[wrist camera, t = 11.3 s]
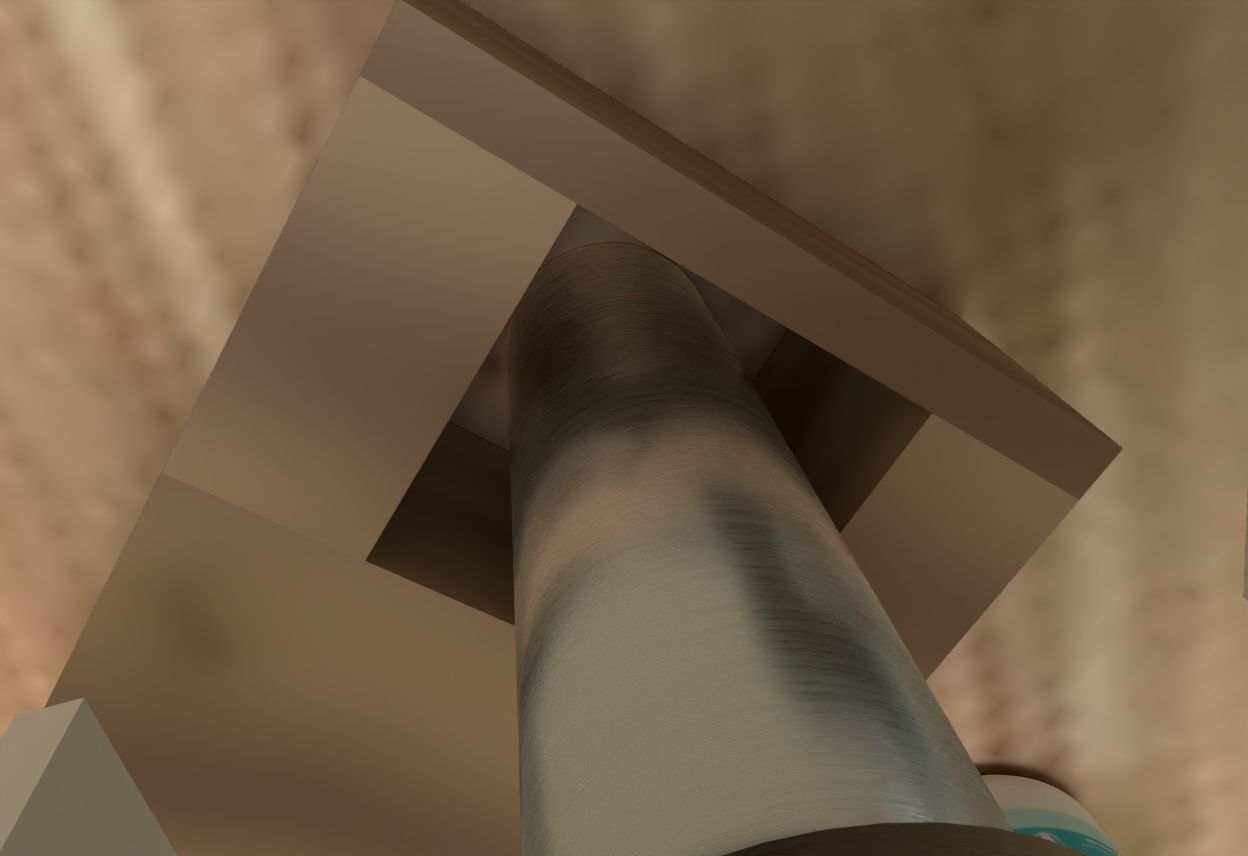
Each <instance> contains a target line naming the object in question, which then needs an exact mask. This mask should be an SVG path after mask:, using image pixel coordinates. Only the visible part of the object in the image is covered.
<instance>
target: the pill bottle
mask: <svg viewBox="0 0 1248 856" xmlns="http://www.w3.org/2000/svg"><path fill="white" fill-rule="evenodd" d="M981 777H982V778H983V780H984V782H985V783H986V785H987V787H988V789H989V790H990V792H991V794H992V795H993V797H994V799H995V801H996V802H997V804H998V806H999V807H1000V809H1001V811H1002V813H1003V814H1004V816H1005V818H1006V819H1007V821H1008V823H1009V825H1010V826H1011V828H1012V830H1013V831H1014V832H1017V833H1022V834H1026V835H1031V836H1036V837H1040V838H1044V839H1047V840H1049V841H1052V842H1055V843H1058V844H1061V845H1063V846H1066V847H1069V848H1072V849H1075V850H1077V851H1080V852H1083V853H1086V854H1088V855H1090V856H1121V855H1120V853H1119V852H1118V851H1117V849H1116V848H1115V847H1114V845H1113V844H1112V843H1111V841H1110V840H1109V838H1108V837H1107V836H1106V834H1105V833H1104V831H1103V830H1102V828H1101V827H1100V826H1099V824H1098V823H1097V822H1096V820H1095V819H1094V818H1093V817H1092V815H1091V814H1090V813H1089V812H1088V811H1087V810H1086V809H1085V808H1084V807H1083V806H1082V805H1081V804H1080V803H1078V802H1077V801H1076V800H1075V799H1073V798H1072V797H1070V796H1069V795H1068V794H1066V793H1064V792H1063V791H1061V790H1060V789H1057V788H1055V787H1053V786H1051V785H1049V784H1046V783H1043V782H1040V781H1037V780H1034V779H1030V778H1025V777H1019V776H1010V775H981Z"/></svg>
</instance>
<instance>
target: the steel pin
mask: <svg viewBox="0 0 1248 856" xmlns="http://www.w3.org/2000/svg"><path fill="white" fill-rule="evenodd" d="M507 362H508V397H509V432H510V467H511V503H512V538H513V573H514V608H515V643H516V678H517V714H518V749H519V784H520V819H521V854H522V856H1090V855H1088V854H1086V853H1083V852H1080V851H1077V850H1075V849H1072V848H1069V847H1066V846H1063V845H1061V844H1058V843H1055V842H1052V841H1049V840H1047V839H1044V838H1040V837H1036V836H1031V835H1026V834H1022V833H1017V832H1014V831H1013V830H1012V828H1011V826H1010V825H1009V823H1008V821H1007V819H1006V818H1005V816H1004V814H1003V813H1002V811H1001V809H1000V807H999V806H998V804H997V802H996V801H995V799H994V797H993V795H992V794H991V792H990V790H989V789H988V787H987V785H986V783H985V782H984V780H983V778H982V777H981V775H980V773H979V771H978V770H977V768H976V766H975V765H974V763H973V761H972V759H971V758H970V756H969V754H968V753H967V751H966V749H965V747H964V746H963V744H962V742H961V741H960V739H959V737H958V736H957V734H956V732H955V730H954V729H953V727H952V725H951V724H950V722H949V720H948V718H947V717H946V715H945V713H944V712H943V710H942V708H941V706H940V705H939V703H938V701H937V700H936V698H935V696H934V694H933V693H932V691H931V689H930V688H929V686H928V684H927V682H926V681H925V679H924V677H923V676H922V674H921V672H920V670H919V669H918V667H917V665H916V664H915V662H914V660H913V658H912V657H911V655H910V653H909V652H908V650H907V648H906V646H905V645H904V643H903V641H902V640H901V638H900V636H899V634H898V633H897V631H896V629H895V628H894V626H893V624H892V623H891V621H890V619H889V617H888V616H887V614H886V612H885V611H884V609H883V607H882V605H881V604H880V602H879V600H878V599H877V597H876V595H875V593H874V592H873V590H872V588H871V587H870V585H869V583H868V581H867V580H866V578H865V576H864V575H863V573H862V571H861V569H860V568H859V566H858V564H857V563H856V561H855V559H854V557H853V556H852V554H851V552H850V551H849V549H848V547H847V545H846V544H845V542H844V540H843V539H842V537H841V535H840V533H839V532H838V530H837V528H836V527H835V525H834V523H833V521H832V520H831V518H830V516H829V515H828V513H827V511H826V509H825V508H824V506H823V504H822V503H821V501H820V499H819V498H818V496H817V494H816V492H815V491H814V489H813V487H812V486H811V484H810V482H809V480H808V479H807V477H806V475H805V474H804V472H803V470H802V468H801V467H800V465H799V463H798V462H797V460H796V458H795V456H794V455H793V453H792V451H791V450H790V448H789V446H788V444H787V443H786V441H785V439H784V438H783V436H782V434H781V432H780V431H779V429H778V427H777V426H776V424H775V422H774V420H773V419H772V417H771V415H770V414H769V412H768V410H767V408H766V407H765V405H764V403H763V402H762V400H761V398H760V396H759V395H758V393H757V391H756V390H755V388H754V386H753V385H752V383H751V381H750V379H749V378H748V376H747V374H746V373H745V371H744V369H743V367H742V366H741V364H740V362H739V361H738V359H737V357H736V355H735V354H734V352H733V350H732V349H731V347H730V345H729V343H728V342H727V340H726V338H725V337H724V335H723V333H722V331H721V330H720V328H719V326H718V325H717V323H716V321H715V319H714V318H713V316H712V314H711V313H710V311H709V309H708V307H707V306H706V304H705V302H704V301H703V299H702V297H701V295H700V294H699V292H698V291H697V289H696V287H695V286H694V284H693V282H692V281H691V280H690V279H689V278H688V276H687V275H686V274H685V273H684V272H683V271H682V270H681V269H680V268H679V267H678V266H676V265H675V264H674V263H673V262H671V261H670V260H668V259H667V258H665V257H664V256H662V255H660V254H658V253H656V252H654V251H652V250H649V249H646V248H643V247H640V246H636V245H631V244H626V243H613V242H611V243H597V244H592V245H587V246H583V247H580V248H577V249H574V250H571V251H569V252H567V253H565V254H563V255H561V256H559V257H557V258H555V259H554V260H552V261H551V262H549V263H548V264H546V265H545V266H544V267H543V268H542V269H541V270H539V271H538V272H537V273H536V274H535V276H534V277H533V279H532V281H531V282H530V284H529V286H528V287H527V289H526V291H525V293H524V294H523V296H522V298H521V299H520V301H519V303H518V304H517V306H516V308H515V309H514V311H513V313H512V314H511V317H510V321H509V326H508V333H507Z"/></svg>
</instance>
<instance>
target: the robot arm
mask: <svg viewBox="0 0 1248 856" xmlns="http://www.w3.org/2000/svg"><path fill="white" fill-rule="evenodd" d="M1243 597H1245V598H1246V599H1247V600H1248V495H1247V520H1246V545H1245V571H1244V596H1243ZM0 856H178V855H177V854H176V852H175V850H174V849H173V847H172V845H171V844H170V842H169V840H168V839H167V837H166V835H165V833H164V832H163V830H162V828H161V827H160V825H159V823H158V822H157V820H156V818H155V817H154V815H153V813H152V812H151V810H150V808H149V806H148V805H147V803H146V801H145V800H144V798H143V796H142V795H141V793H140V791H139V790H138V788H137V786H136V784H135V783H134V781H133V779H132V778H131V776H130V774H129V773H128V771H127V769H126V768H125V766H124V764H123V763H122V761H121V759H120V757H119V756H118V754H117V752H116V751H115V749H114V747H113V746H112V744H111V742H110V741H109V739H108V737H107V735H106V734H105V732H104V730H103V729H102V727H101V725H100V724H99V722H98V720H97V719H96V717H95V715H94V713H93V712H92V710H91V708H90V707H89V705H88V703H87V702H86V700H85V698H81V699H77V700H73V701H69V702H65V703H61V704H58V705H54V706H50V707H46V708H42V709H38V710H35V711H31V712H27V713H23V714H19V715H16V716H15V717H14V719H13V721H12V722H11V724H10V725H9V727H8V729H7V730H6V732H5V733H4V735H3V737H2V738H1V740H0Z"/></svg>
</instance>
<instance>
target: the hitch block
mask: <svg viewBox="0 0 1248 856" xmlns="http://www.w3.org/2000/svg"><path fill="white" fill-rule="evenodd" d="M577 204H578V205H580V206H582V207H583V208H585V209H587V210H588V211H590V212H592V213H594V214H595V215H597V216H599V217H600V218H602V219H604V220H605V221H607V222H609V223H610V224H612V225H614V226H616V227H617V228H619V229H621V230H622V231H624V232H626V233H627V234H629V235H631V236H633V237H634V238H636V239H638V240H639V241H641V242H643V243H644V244H646V245H648V246H650V247H651V248H653V249H655V250H656V251H658V252H660V253H661V254H663V255H665V256H666V257H668V258H670V259H672V260H673V261H675V262H677V263H678V264H680V265H682V266H683V267H685V268H687V269H689V270H690V271H692V272H694V273H695V274H697V275H699V276H700V277H702V278H704V279H706V280H707V281H709V282H711V283H712V284H714V285H716V286H717V287H719V288H721V289H722V290H724V291H726V292H728V293H729V294H731V295H733V296H734V297H736V298H738V299H739V300H741V301H743V302H745V303H746V304H748V305H750V306H751V307H753V308H755V309H756V310H758V311H760V312H762V313H763V314H765V315H767V316H768V317H770V318H772V319H773V320H775V321H777V322H778V323H780V324H782V325H784V326H785V327H787V328H789V331H788V332H787V334H786V335H785V336H784V338H783V339H782V341H781V342H780V344H779V345H778V346H777V348H776V349H775V351H774V352H773V354H772V355H771V357H770V358H769V359H768V361H767V362H766V364H765V365H764V367H763V368H762V370H761V371H760V372H759V374H758V375H757V377H756V378H755V380H754V381H753V382H752V385H753V386H754V388H755V390H756V391H757V393H758V395H759V396H760V398H761V400H762V402H763V403H764V405H765V407H766V408H767V410H768V412H769V414H770V415H771V417H772V419H773V420H774V422H775V424H776V426H777V427H778V429H779V431H780V432H781V434H782V436H783V438H784V439H785V441H786V443H787V444H788V446H789V448H790V450H791V451H792V453H793V455H794V456H795V458H796V460H797V462H798V463H799V465H800V467H801V468H802V470H803V472H804V474H805V475H806V477H807V479H808V480H809V482H810V484H811V486H812V487H813V489H814V491H815V492H816V494H817V496H818V498H819V499H820V501H821V503H822V504H823V506H824V508H825V509H826V511H827V513H828V515H829V516H830V518H831V520H832V521H833V523H834V525H835V527H836V528H837V530H838V532H839V533H840V535H841V537H842V539H843V540H844V542H845V544H846V545H847V547H848V549H849V551H850V552H851V554H852V556H853V557H854V559H855V561H856V563H857V564H858V566H859V568H860V569H861V571H862V573H863V575H864V576H865V578H866V580H867V581H868V583H869V585H870V587H871V588H872V590H873V592H874V593H875V595H876V597H877V599H878V600H879V602H880V604H881V605H882V607H883V609H884V611H885V612H886V614H887V616H888V617H889V619H890V621H891V623H892V624H893V626H894V628H895V629H896V631H897V633H898V634H899V636H900V638H901V640H902V641H903V643H904V645H905V646H906V648H907V650H908V652H909V653H910V655H911V657H912V658H913V660H914V662H915V664H916V665H917V667H918V669H919V670H920V672H921V674H922V676H923V677H924V679H925V681H926V680H927V679H928V677H929V676H930V675H931V674H932V673H933V671H934V670H935V669H936V668H937V667H938V666H939V664H940V663H941V662H942V661H943V660H944V659H945V657H946V656H947V655H948V654H949V653H950V651H951V650H952V649H953V648H954V647H955V646H956V644H957V643H958V642H959V641H960V640H961V639H962V637H963V636H964V635H965V634H966V633H967V631H968V630H969V629H970V628H971V627H972V626H973V624H974V623H975V622H976V621H977V620H978V619H979V617H980V616H981V615H982V614H983V613H984V611H985V610H986V609H987V608H988V607H989V606H990V604H991V603H992V602H993V601H994V600H995V599H996V597H997V596H998V595H999V594H1000V593H1001V591H1002V590H1003V589H1004V588H1005V587H1006V586H1007V584H1008V583H1009V582H1010V581H1011V580H1012V578H1013V577H1014V576H1015V575H1016V574H1017V573H1018V571H1019V570H1020V569H1021V568H1022V567H1023V566H1024V564H1025V563H1026V562H1027V561H1028V560H1029V558H1030V557H1031V556H1032V555H1033V554H1034V553H1035V551H1036V550H1037V549H1038V548H1039V547H1040V546H1041V544H1042V543H1043V542H1044V541H1045V540H1046V538H1047V537H1048V536H1049V535H1050V534H1051V533H1052V531H1053V530H1054V529H1055V528H1056V527H1057V526H1058V524H1059V523H1060V522H1061V521H1062V520H1063V518H1064V517H1065V516H1066V515H1067V514H1068V513H1069V511H1070V510H1071V509H1072V508H1073V507H1074V505H1075V504H1076V503H1077V502H1078V501H1079V500H1080V498H1081V497H1082V496H1083V495H1084V494H1085V493H1086V491H1087V490H1088V489H1089V488H1090V487H1091V485H1092V484H1093V483H1094V482H1095V481H1096V480H1097V478H1098V477H1099V476H1100V475H1101V474H1102V473H1103V471H1104V470H1105V469H1106V468H1107V467H1108V465H1109V464H1110V463H1111V462H1112V461H1113V460H1114V458H1115V457H1116V456H1117V455H1118V454H1119V453H1120V451H1121V450H1122V449H1123V448H1122V447H1121V446H1119V445H1118V444H1117V443H1116V442H1114V441H1113V440H1112V439H1111V438H1109V437H1108V436H1107V435H1106V434H1104V433H1103V432H1102V431H1101V430H1099V429H1098V428H1097V427H1096V426H1094V425H1093V424H1092V423H1091V422H1089V421H1088V420H1087V419H1086V418H1084V417H1083V416H1082V415H1081V414H1079V413H1078V412H1077V411H1076V410H1074V409H1073V408H1072V407H1071V406H1069V405H1068V404H1067V403H1066V402H1064V401H1063V400H1062V399H1061V398H1059V397H1058V396H1057V395H1056V394H1054V393H1053V392H1052V391H1051V390H1049V389H1048V388H1047V387H1046V386H1044V385H1043V384H1042V383H1041V382H1039V381H1038V380H1037V379H1036V378H1035V377H1033V376H1032V375H1031V374H1030V373H1028V372H1027V371H1026V370H1025V369H1023V368H1022V367H1021V366H1020V365H1018V364H1017V363H1016V362H1015V361H1013V360H1012V359H1011V358H1010V357H1008V356H1007V355H1006V354H1005V353H1003V352H1002V351H1001V350H1000V349H998V348H997V347H996V346H995V345H993V344H992V343H991V342H990V341H988V340H987V339H986V338H985V337H983V336H982V335H981V334H980V333H978V332H977V331H976V330H975V329H973V328H972V327H971V326H970V325H968V324H967V323H966V322H965V321H963V320H962V319H961V318H959V317H957V316H956V315H954V314H953V313H951V312H950V311H948V310H946V309H945V308H943V307H942V306H940V305H939V304H937V303H935V302H934V301H932V300H931V299H929V298H927V297H926V296H924V295H923V294H921V293H920V292H918V291H916V290H915V289H913V288H912V287H910V286H909V285H907V284H905V283H904V282H902V281H901V280H899V279H897V278H896V277H894V276H893V275H891V274H890V273H888V272H886V271H885V270H883V269H882V268H880V267H879V266H877V265H875V264H874V263H872V262H871V261H869V260H867V259H866V258H864V257H863V256H861V255H860V254H858V253H856V252H855V251H853V250H852V249H850V248H849V247H847V246H845V245H844V244H842V243H841V242H839V241H837V240H836V239H834V238H833V237H831V236H830V235H828V234H826V233H825V232H823V231H822V230H820V229H819V228H817V227H815V226H814V225H812V224H811V223H809V222H808V221H806V220H804V219H803V218H801V217H800V216H798V215H796V214H795V213H793V212H792V211H790V210H789V209H787V208H785V207H784V206H782V205H781V204H779V203H778V202H776V201H774V200H773V199H771V198H770V197H768V196H766V195H765V194H763V193H762V192H760V191H759V190H757V189H755V188H754V187H752V186H751V185H749V184H748V183H746V182H744V181H743V180H741V179H740V178H738V177H736V176H735V175H733V174H732V173H730V172H729V171H727V170H725V169H724V168H722V167H721V166H719V165H718V164H716V163H714V162H713V161H711V160H710V159H708V158H706V157H705V156H703V155H702V154H700V153H699V152H697V151H695V150H694V149H692V148H691V147H689V146H688V145H686V144H684V143H683V142H681V141H680V140H678V139H676V138H675V137H673V136H672V135H670V134H669V133H667V132H665V131H664V130H662V129H661V128H659V127H658V126H656V125H654V124H653V123H651V122H650V121H648V120H646V119H645V118H643V117H642V116H640V115H639V114H637V113H635V112H634V111H632V110H631V109H629V108H628V107H626V106H624V105H623V104H621V103H620V102H618V101H617V100H615V99H613V98H612V97H610V96H609V95H607V94H605V93H604V92H602V91H601V90H599V89H598V88H596V87H594V86H593V85H591V84H590V83H588V82H587V81H585V80H583V79H582V78H580V77H579V76H577V75H575V74H574V73H572V72H571V71H569V70H568V69H566V68H564V67H563V66H561V65H560V64H558V63H557V62H555V61H553V60H552V59H550V58H549V57H547V56H545V55H544V54H542V53H541V52H539V51H538V50H536V49H534V48H533V47H531V46H530V45H528V44H527V43H525V42H523V41H522V40H520V39H519V38H517V37H515V36H514V35H512V34H511V33H509V32H508V31H506V30H504V29H503V28H501V27H500V26H498V25H497V24H495V23H493V22H492V21H490V20H489V19H487V18H485V17H484V16H482V15H481V14H479V13H478V12H476V11H474V10H473V9H471V8H470V7H468V6H467V5H465V4H463V3H462V2H460V1H459V0H397V1H396V3H395V5H394V7H393V9H392V11H391V13H390V15H389V17H388V19H387V21H386V23H385V25H384V27H383V29H382V31H381V33H380V35H379V37H378V39H377V41H376V43H375V45H374V47H373V49H372V51H371V53H370V55H369V57H368V59H367V61H366V64H365V66H364V68H363V70H362V72H361V74H360V76H359V78H358V80H357V82H356V84H355V86H354V88H353V90H352V92H351V94H350V96H349V98H348V100H347V102H346V104H345V106H344V108H343V110H342V112H341V114H340V116H339V118H338V120H337V122H336V124H335V126H334V128H333V130H332V132H331V134H330V136H329V138H328V140H327V142H326V144H325V146H324V148H323V150H322V152H321V154H320V156H319V158H318V160H317V162H316V164H315V166H314V168H313V170H312V172H311V174H310V176H309V178H308V180H307V182H306V184H305V186H304V188H303V190H302V192H301V194H300V196H299V198H298V200H297V202H296V204H295V206H294V208H293V210H292V212H291V214H290V216H289V218H288V220H287V222H286V224H285V226H284V228H283V230H282V232H281V234H280V236H279V238H278V240H277V242H276V244H275V246H274V248H273V250H272V252H271V254H270V256H269V258H268V260H267V262H266V264H265V266H264V268H263V270H262V272H261V274H260V276H259V278H258V280H257V282H256V284H255V286H254V288H253V290H252V292H251V294H250V296H249V298H248V300H247V302H246V304H245V306H244V308H243V310H242V312H241V314H240V316H239V318H238V320H237V322H236V324H235V326H234V328H233V330H232V332H231V334H230V336H229V338H228V340H227V342H226V344H225V346H224V348H223V350H222V352H221V354H220V356H219V358H218V360H217V362H216V365H215V367H214V369H213V371H212V373H211V375H210V377H209V379H208V381H207V383H206V385H205V387H204V389H203V391H202V393H201V395H200V397H199V399H198V401H197V403H196V405H195V407H194V409H193V411H192V413H191V415H190V417H189V419H188V421H187V423H186V425H185V427H184V429H183V431H182V433H181V435H180V437H179V439H178V441H177V443H176V445H175V447H174V449H173V451H172V453H171V455H170V457H169V459H168V461H167V463H166V465H165V467H164V469H163V471H162V473H161V475H160V477H159V479H158V481H157V483H156V485H155V487H154V489H153V491H152V493H151V495H150V497H149V499H148V501H147V503H146V505H145V507H144V509H143V511H142V513H141V515H140V517H139V519H138V521H137V523H136V525H135V527H134V529H133V531H132V533H131V535H130V537H129V539H128V541H127V543H126V545H125V547H124V549H123V551H122V553H121V555H120V557H119V559H118V561H117V563H116V565H115V567H114V569H113V571H112V573H111V575H110V577H109V579H108V581H107V583H106V585H105V587H104V589H103V591H102V593H101V595H100V597H99V599H98V601H97V603H96V605H95V607H94V609H93V611H92V613H91V615H90V617H89V619H88V621H87V623H86V625H85V627H84V629H83V631H82V633H81V635H80V637H79V639H78V641H77V643H76V645H75V647H74V649H73V651H72V653H71V655H70V657H69V659H68V661H67V663H66V666H65V668H64V670H63V672H62V674H61V676H60V678H59V680H58V682H57V684H56V686H55V688H54V690H53V692H52V694H51V696H50V698H49V700H48V702H47V704H46V706H45V708H46V707H50V706H54V705H58V704H61V703H65V702H69V701H73V700H77V699H81V698H85V700H86V702H87V703H88V705H89V707H90V708H91V710H92V712H93V713H94V715H95V717H96V719H97V720H98V722H99V724H100V725H101V727H102V729H103V730H104V732H105V734H106V735H107V737H108V739H109V741H110V742H111V744H112V746H113V747H114V749H115V751H116V752H117V754H118V756H119V757H120V759H121V761H122V763H123V764H124V766H125V768H126V769H127V771H128V773H129V774H130V776H131V778H132V779H133V781H134V783H135V784H136V786H137V788H138V790H139V791H140V793H141V795H142V796H143V798H144V800H145V801H146V803H147V805H148V806H149V808H150V810H151V812H152V813H153V815H154V817H155V818H156V820H157V822H158V823H159V825H160V827H161V828H162V830H163V832H164V833H165V835H166V837H167V839H168V840H169V842H170V844H171V845H172V847H173V849H174V850H175V852H176V854H177V855H178V856H522V854H521V819H520V784H519V749H518V714H517V678H516V643H515V608H514V573H513V538H512V503H511V467H510V452H508V451H506V450H504V449H502V448H500V447H498V446H496V445H494V444H492V443H490V442H488V441H486V440H484V439H481V438H479V437H477V436H475V435H473V434H471V433H469V432H467V431H465V430H463V429H461V428H459V427H457V426H455V425H453V424H451V423H449V422H448V420H449V419H450V417H451V415H452V414H453V412H454V410H455V409H456V407H457V405H458V404H459V402H460V400H461V399H462V397H463V395H464V394H465V392H466V390H467V389H468V387H469V385H470V383H471V382H472V380H473V378H474V377H475V375H476V373H477V372H478V370H479V368H480V367H481V365H482V363H483V362H484V360H485V358H486V357H487V355H488V353H489V351H490V350H491V348H492V346H493V345H494V343H495V341H496V340H497V338H498V336H499V335H500V333H501V331H502V330H503V328H504V326H505V325H506V323H507V321H508V319H509V318H510V316H511V314H512V313H513V311H514V309H515V308H516V306H517V304H518V303H519V301H520V299H521V298H522V296H523V294H524V293H525V291H526V289H527V287H528V286H529V284H530V282H531V281H532V279H533V277H534V276H535V274H536V272H537V271H538V269H539V267H540V266H541V264H542V262H543V261H544V259H545V257H546V255H547V254H548V252H549V250H550V249H551V247H552V245H553V244H554V242H555V240H556V239H557V237H558V235H559V234H560V232H561V230H562V229H563V227H564V225H565V223H566V222H567V220H568V218H569V217H570V215H571V213H572V212H573V210H574V208H575V207H576V205H577Z"/></svg>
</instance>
